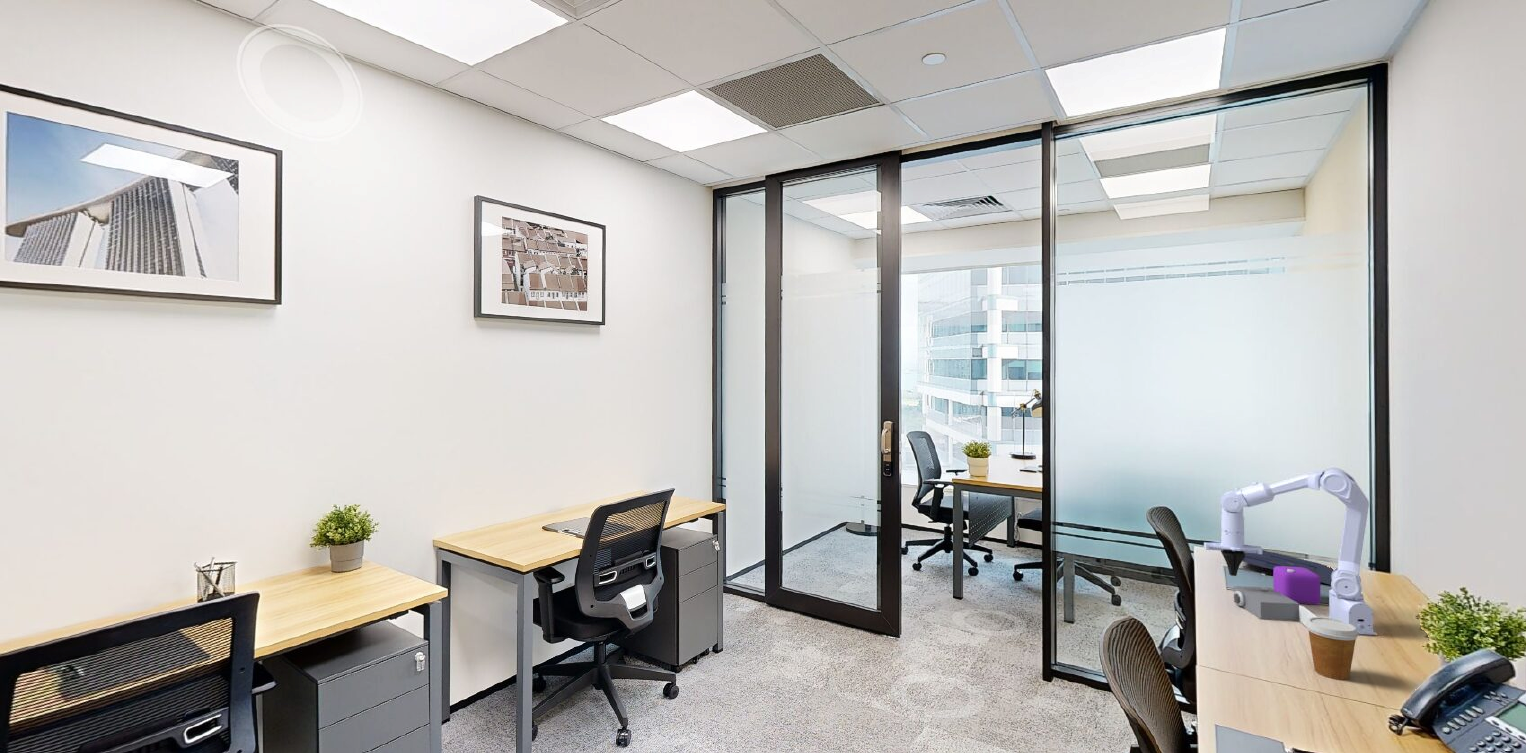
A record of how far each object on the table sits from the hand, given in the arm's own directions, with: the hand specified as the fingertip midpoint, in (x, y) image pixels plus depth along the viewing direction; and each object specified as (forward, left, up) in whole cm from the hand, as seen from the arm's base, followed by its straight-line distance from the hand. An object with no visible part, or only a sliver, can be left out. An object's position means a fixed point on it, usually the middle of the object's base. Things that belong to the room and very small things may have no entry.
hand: (1232, 574), depth 199 cm
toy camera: (+9, -22, -10) cm, 26 cm away
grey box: (-4, -7, -9) cm, 12 cm away
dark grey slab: (+39, -37, -10) cm, 55 cm away
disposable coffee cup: (-45, +1, -10) cm, 46 cm away
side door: (-19, -11, -9) cm, 23 cm away
